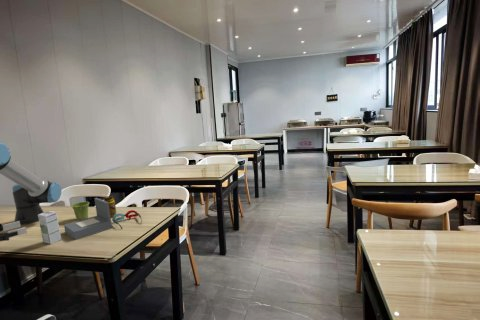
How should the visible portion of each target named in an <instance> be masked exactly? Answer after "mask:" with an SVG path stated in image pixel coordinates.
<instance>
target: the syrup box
mask: <svg viewBox="0 0 480 320" xmlns="http://www.w3.org/2000/svg"><path fill="white" fill-rule="evenodd" d="M43 212H44V213H41V214H39V215H38V218H39V221H38V223H39V228H40V233H41V237H42V243H44V244H48V245H52V244H56V243H57V242H59V241H62V235H61V231H60V225H59V220H58V214H57V211H51V210H49V211H43Z"/></svg>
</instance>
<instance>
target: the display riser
mask: <svg viewBox="0 0 480 320" xmlns="http://www.w3.org/2000/svg"><path fill="white" fill-rule="evenodd" d="M94 206H95V211H96V215H94V216H90V217H88V218H86V219H81V220H77V221H73V222H70V223H66V224H63V227H64V228H63V229H64V233H66V235H68V236H70V237H71V238H72V239H74V240H79V239H83V238H85V237H86V238H87V237H88V236H91V235H95V234H98V233H101V232H103V231H107V230H109V229H110V230H111V229H113V225H112V218H111V217H110V210H109V203H108V202H106V201H104V199H101V198H98V197H94Z"/></svg>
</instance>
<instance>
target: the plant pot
mask: <svg viewBox="0 0 480 320" xmlns="http://www.w3.org/2000/svg"><path fill="white" fill-rule="evenodd" d="M89 205H90V202H89V201H80V202H77V203H76V202H75V203H73V204H72V205H71V208H72V209H73V213H74V214H75V218H76V220H77V221H80V220H83V219H87V218H89Z"/></svg>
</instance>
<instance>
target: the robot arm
mask: <svg viewBox="0 0 480 320" xmlns="http://www.w3.org/2000/svg"><path fill="white" fill-rule="evenodd" d="M0 175H2V176H3V177H5V178H7V179H8V180H9V181H11V182H13V183H14V185H13V186H12V195H13V201H14V205H15V210H16V211H15V216H14V221H13V222H9V223H7V224H6V223H5V224H2V223H0V242H4V241H10V239H11V238H15V237H17V236H18V237H19V236H22V235H25V234H28V231H27V227H26V226H23V227H21V225H28V224H32V223H36V222H39V218H38V215H39V214H41V213H44V212H45V211H44V210H43V209H42V207H41V205H40V204H52V203H56V202H58V201H59V199H60V198H61V196H62V187H61V185H60V183H58V182H50V181H49V180H48V179H46V178H44V177H38V176H37V175H35V173H32V172H31V171H29V170H28V169H27V168H25V167H24V166H22V165H21V164H19V163H18V162H16V161H15V160H13V159H12V155H11V152H10V151H9V148H8V146H7V145H6V144H5V143H3V142H1V141H0ZM12 229H13V230H12ZM5 231H7V232H5ZM2 232H3V233H2Z"/></svg>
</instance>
